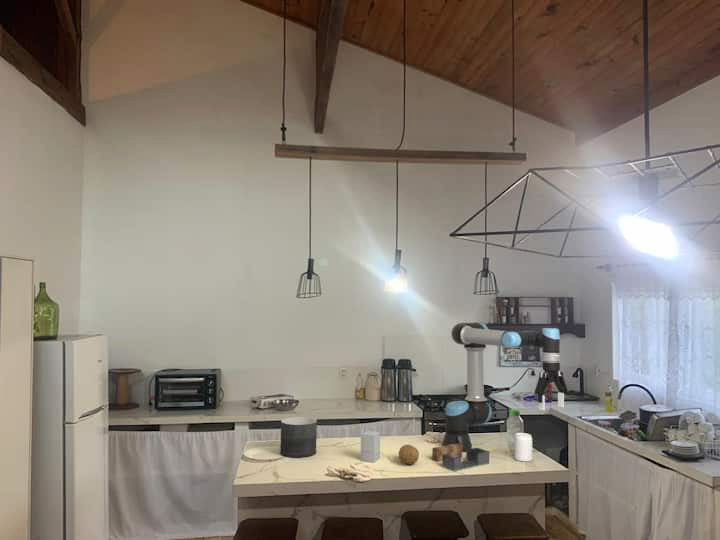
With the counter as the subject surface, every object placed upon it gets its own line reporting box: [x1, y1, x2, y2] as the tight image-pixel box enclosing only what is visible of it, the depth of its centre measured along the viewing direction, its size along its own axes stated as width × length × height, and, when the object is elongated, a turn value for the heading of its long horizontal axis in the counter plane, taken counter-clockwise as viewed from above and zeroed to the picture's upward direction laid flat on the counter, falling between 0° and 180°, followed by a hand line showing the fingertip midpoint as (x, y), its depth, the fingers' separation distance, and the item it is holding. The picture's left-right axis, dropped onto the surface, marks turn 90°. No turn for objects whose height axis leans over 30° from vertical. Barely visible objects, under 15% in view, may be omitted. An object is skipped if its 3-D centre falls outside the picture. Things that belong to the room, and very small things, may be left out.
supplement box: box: [360, 430, 381, 463], centre depth 254 cm, size 7×7×13 cm
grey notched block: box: [441, 447, 490, 473], centre depth 247 cm, size 22×8×6 cm, turn 124°
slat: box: [431, 444, 463, 463], centre depth 257 cm, size 16×4×6 cm, turn 122°
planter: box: [280, 416, 318, 459], centre depth 264 cm, size 18×18×16 cm
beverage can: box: [514, 432, 533, 463], centre depth 256 cm, size 8×8×12 cm
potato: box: [398, 444, 420, 465], centre depth 249 cm, size 10×14×8 cm
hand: (551, 408), depth 244 cm, fingers open, 13 cm apart
